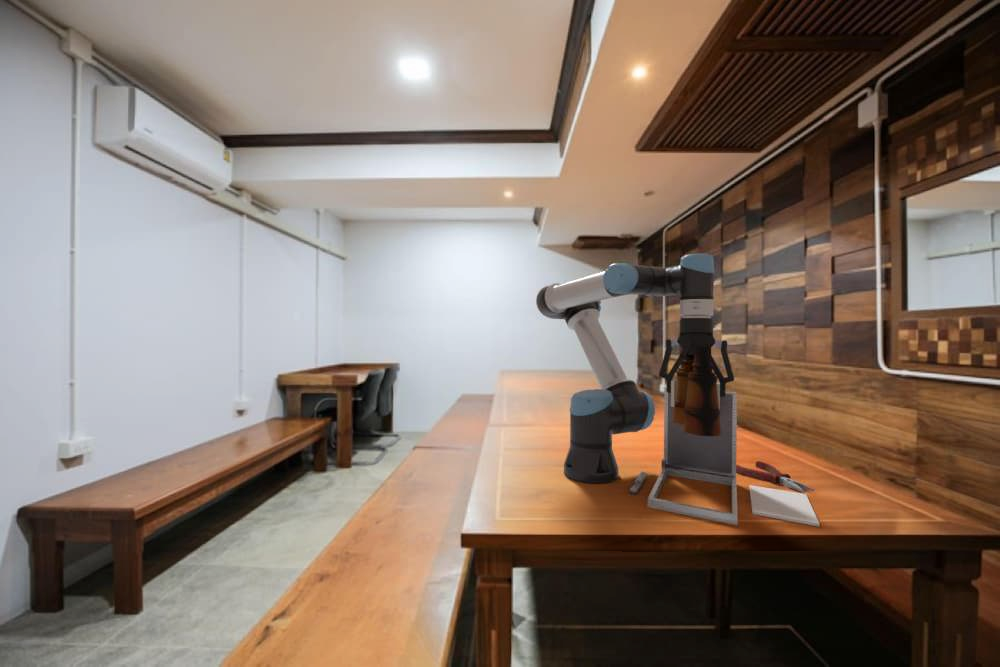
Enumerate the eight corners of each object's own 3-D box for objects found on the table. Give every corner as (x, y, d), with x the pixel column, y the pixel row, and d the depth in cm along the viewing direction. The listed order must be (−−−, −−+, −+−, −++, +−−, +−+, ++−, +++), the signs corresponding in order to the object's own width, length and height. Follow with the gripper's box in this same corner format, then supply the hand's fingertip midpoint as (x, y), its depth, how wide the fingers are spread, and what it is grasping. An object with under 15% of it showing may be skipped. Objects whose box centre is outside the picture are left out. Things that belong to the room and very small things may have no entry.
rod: (629, 494, 103) (629, 487, 103) (640, 477, 116) (640, 471, 116) (636, 496, 103) (636, 488, 103) (646, 478, 115) (646, 472, 115)
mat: (752, 513, 92) (752, 511, 92) (749, 487, 108) (749, 485, 108) (819, 526, 86) (819, 523, 86) (805, 496, 102) (806, 494, 102)
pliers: (791, 498, 102) (791, 487, 102) (727, 471, 122) (727, 462, 122) (827, 493, 105) (827, 483, 105) (759, 468, 125) (759, 459, 125)
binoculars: (667, 417, 112) (668, 344, 112) (699, 419, 111) (700, 344, 111) (688, 435, 94) (690, 347, 94) (727, 437, 93) (728, 348, 93)
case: (646, 506, 96) (647, 401, 95) (663, 472, 119) (663, 387, 119) (737, 525, 87) (738, 409, 87) (736, 483, 110) (737, 392, 110)
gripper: (646, 317, 104) (645, 405, 105) (748, 316, 93) (747, 415, 94) (651, 318, 111) (650, 401, 111) (747, 317, 100) (746, 410, 100)
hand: (694, 407), depth 102 cm, fingers closed on binoculars, 9 cm apart
